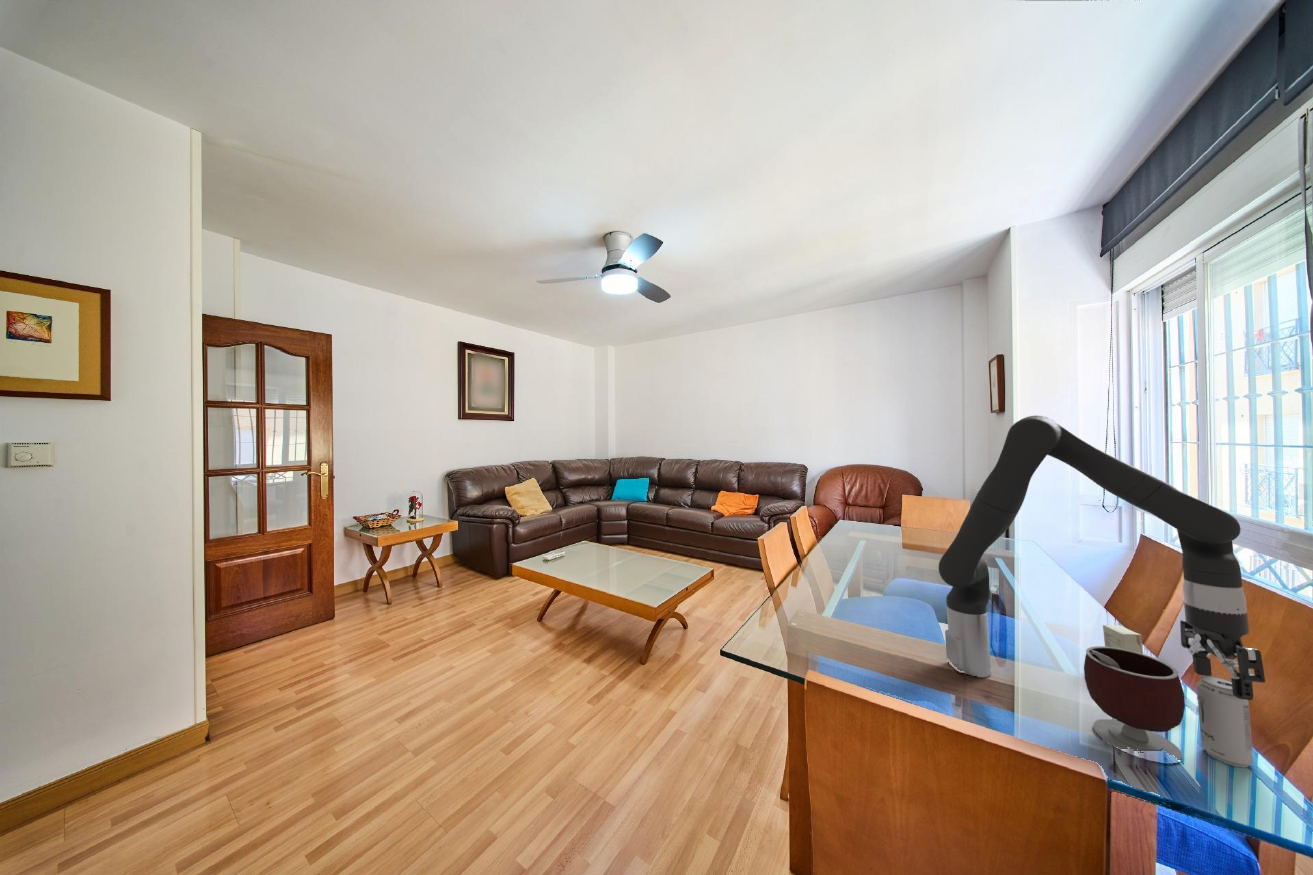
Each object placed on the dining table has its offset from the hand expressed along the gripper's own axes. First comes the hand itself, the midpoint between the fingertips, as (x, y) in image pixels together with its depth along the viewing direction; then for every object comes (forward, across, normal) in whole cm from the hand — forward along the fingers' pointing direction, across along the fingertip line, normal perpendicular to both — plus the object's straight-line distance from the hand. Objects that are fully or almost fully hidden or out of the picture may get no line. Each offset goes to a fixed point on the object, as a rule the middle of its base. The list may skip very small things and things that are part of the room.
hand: (1221, 685), depth 81 cm
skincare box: (+14, +31, -1) cm, 34 cm away
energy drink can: (+15, 0, 0) cm, 15 cm away
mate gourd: (+14, 0, +14) cm, 20 cm away
